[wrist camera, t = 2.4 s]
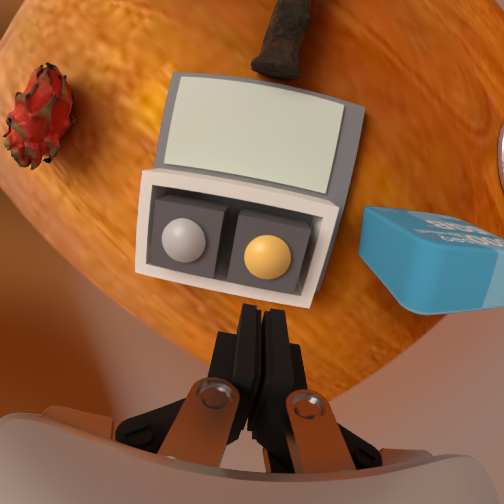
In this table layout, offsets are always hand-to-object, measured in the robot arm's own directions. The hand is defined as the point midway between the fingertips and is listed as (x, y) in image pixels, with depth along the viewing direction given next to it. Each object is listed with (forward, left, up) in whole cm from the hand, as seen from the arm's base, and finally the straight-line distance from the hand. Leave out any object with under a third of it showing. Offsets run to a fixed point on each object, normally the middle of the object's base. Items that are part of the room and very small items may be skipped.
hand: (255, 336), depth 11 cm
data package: (-14, -4, -15) cm, 21 cm away
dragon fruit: (+25, -10, -15) cm, 30 cm away
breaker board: (+2, -5, -15) cm, 16 cm away
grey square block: (+6, 0, -12) cm, 13 cm away
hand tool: (+2, -24, -15) cm, 28 cm away
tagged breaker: (0, 0, -12) cm, 12 cm away
